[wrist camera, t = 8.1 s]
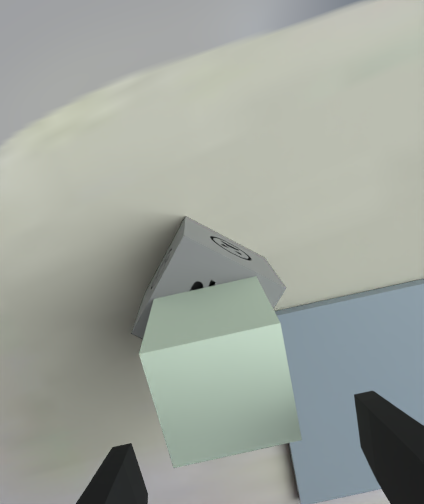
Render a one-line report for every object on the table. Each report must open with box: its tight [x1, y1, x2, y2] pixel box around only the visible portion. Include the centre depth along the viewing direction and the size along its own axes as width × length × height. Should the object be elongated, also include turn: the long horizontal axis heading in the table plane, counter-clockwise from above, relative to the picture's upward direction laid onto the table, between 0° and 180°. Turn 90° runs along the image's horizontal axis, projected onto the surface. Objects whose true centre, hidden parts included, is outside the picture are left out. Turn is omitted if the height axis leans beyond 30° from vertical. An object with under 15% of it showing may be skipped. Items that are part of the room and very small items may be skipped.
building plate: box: [275, 279, 424, 504], centre depth 23 cm, size 14×14×1 cm
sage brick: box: [139, 276, 302, 468], centre depth 14 cm, size 4×4×4 cm
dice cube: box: [131, 216, 286, 339], centre depth 18 cm, size 5×5×5 cm
